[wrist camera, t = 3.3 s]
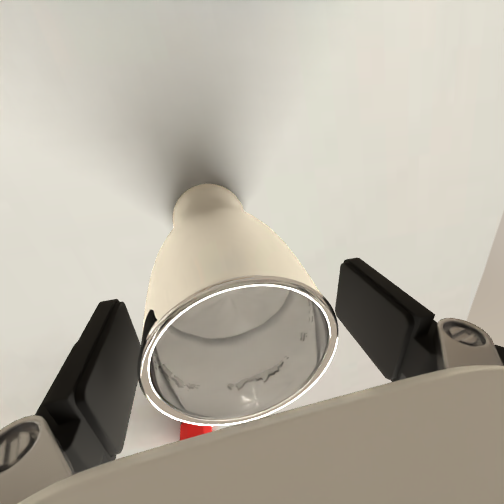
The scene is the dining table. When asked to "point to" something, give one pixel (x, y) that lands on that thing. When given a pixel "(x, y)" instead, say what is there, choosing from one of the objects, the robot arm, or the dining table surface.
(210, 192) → the beer glass
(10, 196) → the dining table surface
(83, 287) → the dining table surface
